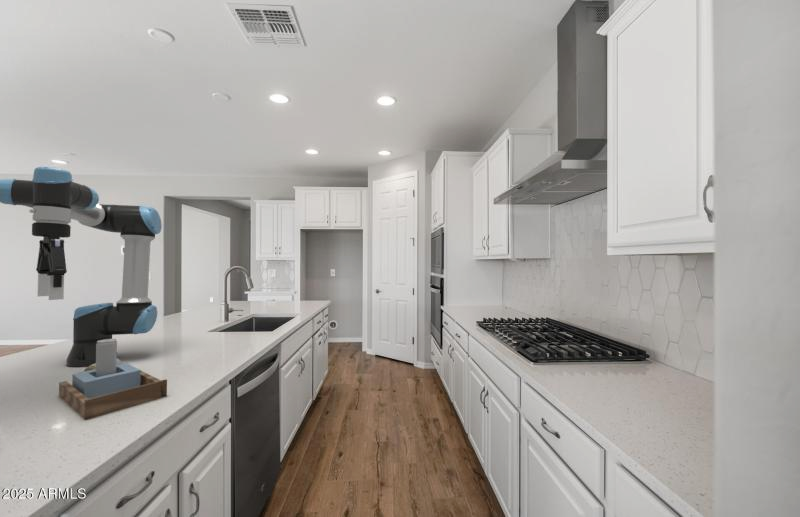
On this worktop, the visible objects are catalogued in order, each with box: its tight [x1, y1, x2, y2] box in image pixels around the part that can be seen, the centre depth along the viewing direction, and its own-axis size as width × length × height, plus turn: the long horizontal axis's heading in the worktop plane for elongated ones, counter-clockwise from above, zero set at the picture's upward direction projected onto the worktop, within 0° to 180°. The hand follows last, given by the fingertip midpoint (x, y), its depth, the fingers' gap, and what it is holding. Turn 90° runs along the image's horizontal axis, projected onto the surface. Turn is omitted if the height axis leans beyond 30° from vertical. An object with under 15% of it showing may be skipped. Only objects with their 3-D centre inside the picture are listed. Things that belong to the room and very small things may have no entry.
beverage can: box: [96, 338, 118, 377], centre depth 102 cm, size 5×5×12 cm
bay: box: [58, 370, 168, 421], centre depth 98 cm, size 26×18×6 cm
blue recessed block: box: [71, 362, 142, 399], centre depth 101 cm, size 12×13×6 cm
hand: (50, 297), depth 93 cm, fingers open, 13 cm apart
